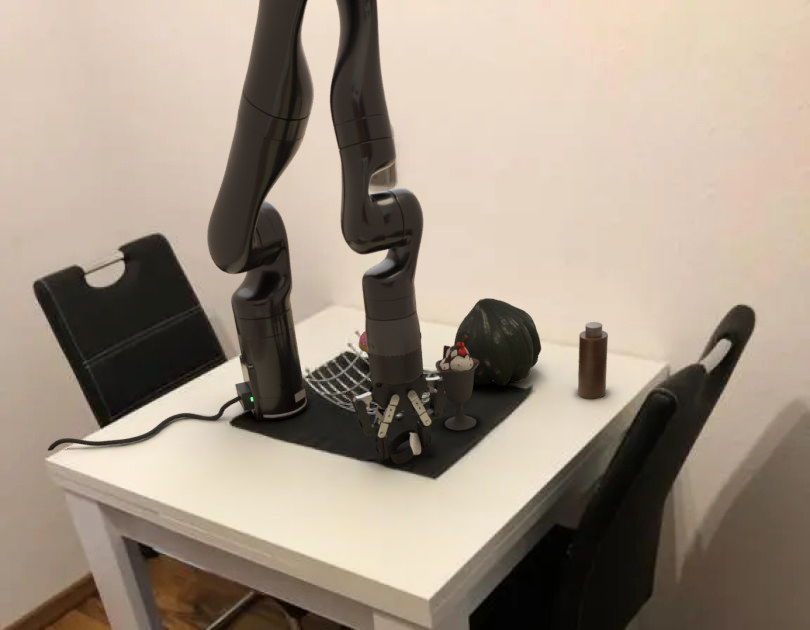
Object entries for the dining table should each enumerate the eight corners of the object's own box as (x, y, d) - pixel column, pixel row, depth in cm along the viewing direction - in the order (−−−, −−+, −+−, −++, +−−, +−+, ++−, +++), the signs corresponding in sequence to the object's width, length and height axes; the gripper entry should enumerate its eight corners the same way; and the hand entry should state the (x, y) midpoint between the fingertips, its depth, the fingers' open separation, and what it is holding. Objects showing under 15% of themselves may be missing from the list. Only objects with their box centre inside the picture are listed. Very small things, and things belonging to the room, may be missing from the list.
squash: (557, 329, 158) (498, 267, 153) (554, 367, 146) (490, 301, 141) (498, 379, 165) (440, 322, 161) (490, 419, 153) (427, 358, 149)
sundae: (479, 433, 139) (475, 340, 131) (436, 432, 141) (429, 340, 133) (484, 414, 145) (481, 324, 136) (443, 414, 146) (437, 324, 138)
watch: (415, 467, 131) (413, 445, 129) (384, 466, 132) (381, 444, 130) (425, 442, 137) (423, 420, 135) (395, 441, 138) (393, 420, 136)
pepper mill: (586, 401, 146) (589, 332, 139) (572, 391, 149) (574, 323, 143) (610, 394, 147) (613, 326, 140) (596, 385, 150) (598, 317, 144)
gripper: (431, 324, 130) (438, 430, 139) (336, 345, 126) (350, 453, 135) (452, 340, 124) (459, 450, 133) (353, 363, 120) (367, 474, 129)
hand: (404, 451), depth 134 cm, fingers closed on watch, 5 cm apart
